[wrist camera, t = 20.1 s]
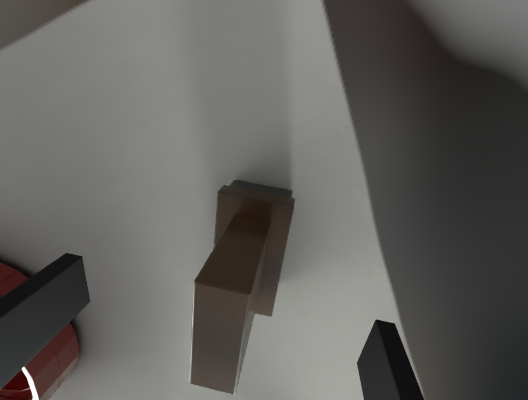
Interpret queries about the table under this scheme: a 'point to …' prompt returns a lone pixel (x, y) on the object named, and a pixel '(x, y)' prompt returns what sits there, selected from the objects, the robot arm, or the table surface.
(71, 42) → the table surface
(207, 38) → the table surface
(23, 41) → the table surface
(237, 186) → the brown block stand
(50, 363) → the bowl
